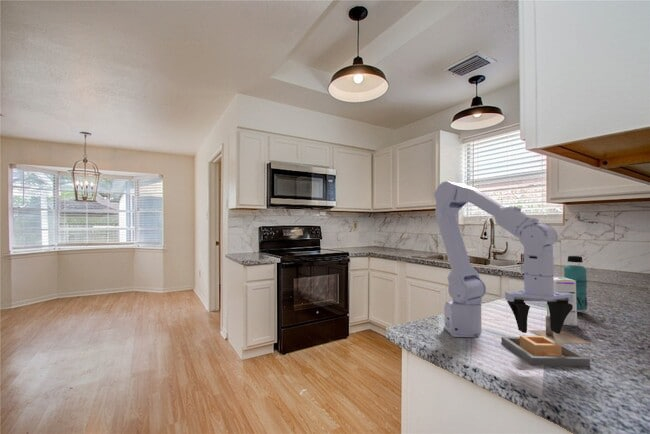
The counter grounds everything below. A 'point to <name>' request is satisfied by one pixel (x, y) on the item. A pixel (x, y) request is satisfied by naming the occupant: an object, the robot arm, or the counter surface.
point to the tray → (571, 360)
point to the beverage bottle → (578, 281)
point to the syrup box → (569, 287)
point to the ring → (540, 346)
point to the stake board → (558, 335)
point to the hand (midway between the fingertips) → (538, 331)
